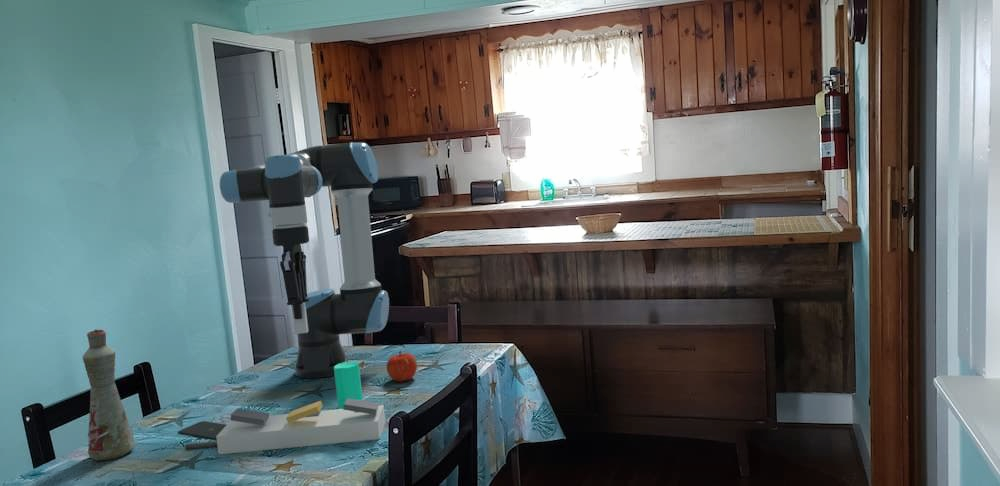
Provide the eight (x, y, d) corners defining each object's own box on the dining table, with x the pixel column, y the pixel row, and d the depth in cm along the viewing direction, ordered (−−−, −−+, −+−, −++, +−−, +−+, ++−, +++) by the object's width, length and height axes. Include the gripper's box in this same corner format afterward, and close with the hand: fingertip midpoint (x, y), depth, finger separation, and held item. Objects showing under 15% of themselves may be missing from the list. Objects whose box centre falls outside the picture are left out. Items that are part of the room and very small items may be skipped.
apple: (423, 379, 191) (420, 350, 190) (396, 386, 187) (393, 357, 186) (409, 373, 198) (406, 345, 197) (383, 380, 193) (380, 351, 193)
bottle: (131, 457, 153) (112, 330, 150) (84, 466, 151) (63, 336, 147) (139, 443, 161) (121, 322, 158) (95, 451, 159) (75, 328, 156)
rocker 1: (236, 413, 156) (237, 408, 156) (268, 418, 156) (269, 413, 156) (230, 420, 152) (231, 414, 152) (263, 425, 152) (264, 420, 152)
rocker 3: (346, 403, 157) (347, 398, 157) (378, 408, 157) (378, 403, 157) (343, 409, 153) (344, 404, 153) (375, 414, 153) (376, 409, 153)
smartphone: (202, 419, 172) (245, 426, 165) (202, 423, 172) (246, 430, 165) (175, 431, 166) (219, 438, 159) (176, 434, 166) (220, 442, 159)
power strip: (194, 440, 160) (191, 422, 160) (385, 421, 162) (383, 404, 161) (175, 458, 150) (172, 439, 150) (379, 439, 152) (377, 420, 151)
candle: (357, 410, 171) (352, 362, 169) (334, 411, 172) (328, 362, 171) (367, 402, 177) (361, 354, 175) (344, 402, 178) (339, 355, 176)
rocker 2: (292, 416, 157) (290, 411, 156) (322, 405, 157) (320, 400, 156) (288, 423, 153) (286, 418, 152) (318, 411, 153) (316, 406, 152)
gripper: (280, 225, 162) (292, 327, 164) (263, 230, 149) (276, 340, 151) (313, 222, 162) (324, 325, 164) (299, 226, 149) (311, 337, 151)
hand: (301, 332), depth 158 cm, fingers closed
